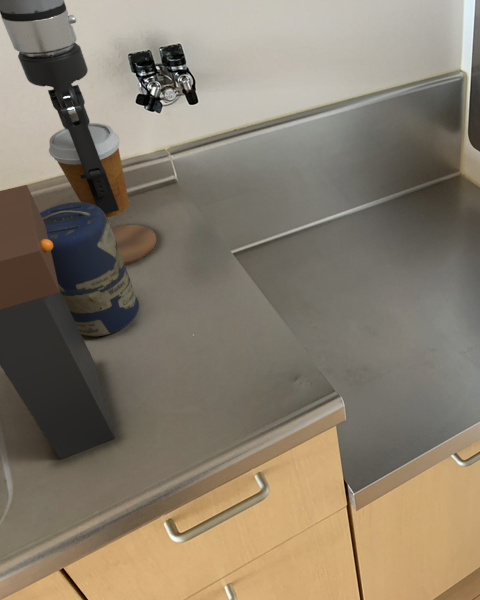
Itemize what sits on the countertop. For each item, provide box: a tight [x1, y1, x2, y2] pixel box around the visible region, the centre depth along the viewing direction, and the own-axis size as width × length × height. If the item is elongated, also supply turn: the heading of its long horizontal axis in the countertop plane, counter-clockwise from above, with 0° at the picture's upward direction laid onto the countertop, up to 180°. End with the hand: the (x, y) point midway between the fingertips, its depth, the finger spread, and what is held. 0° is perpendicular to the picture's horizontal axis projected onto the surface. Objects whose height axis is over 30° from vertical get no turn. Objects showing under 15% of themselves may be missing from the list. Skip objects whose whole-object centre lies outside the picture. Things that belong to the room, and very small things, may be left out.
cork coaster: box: [111, 224, 158, 266], centre depth 100 cm, size 11×11×1 cm
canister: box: [40, 201, 140, 337], centre depth 81 cm, size 10×10×18 cm
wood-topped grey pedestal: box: [0, 184, 116, 460], centre depth 67 cm, size 8×13×27 cm, turn 29°
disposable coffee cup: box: [48, 122, 130, 218], centre depth 92 cm, size 10×10×12 cm
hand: (104, 197), depth 94 cm, fingers closed on disposable coffee cup, 8 cm apart
